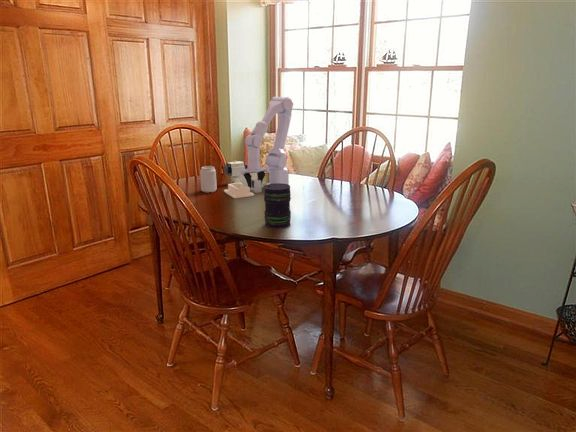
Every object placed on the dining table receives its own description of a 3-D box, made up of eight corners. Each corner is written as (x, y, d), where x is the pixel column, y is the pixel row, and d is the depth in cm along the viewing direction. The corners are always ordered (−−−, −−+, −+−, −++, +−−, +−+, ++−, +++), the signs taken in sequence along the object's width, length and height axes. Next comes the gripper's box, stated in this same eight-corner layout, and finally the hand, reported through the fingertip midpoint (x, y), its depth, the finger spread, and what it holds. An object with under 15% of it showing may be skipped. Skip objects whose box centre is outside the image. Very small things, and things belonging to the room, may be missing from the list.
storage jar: (290, 220, 184) (290, 183, 179) (291, 228, 174) (291, 189, 170) (264, 221, 183) (263, 183, 179) (264, 229, 174) (263, 189, 170)
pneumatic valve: (224, 183, 246) (223, 160, 242) (243, 180, 252) (242, 158, 249) (229, 185, 242) (228, 162, 238) (248, 182, 248) (248, 159, 245)
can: (218, 189, 234) (217, 165, 230) (214, 193, 227) (213, 168, 223) (203, 189, 235) (202, 165, 231) (199, 192, 228) (197, 168, 224)
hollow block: (243, 189, 233) (243, 181, 232) (254, 195, 221) (254, 187, 220) (224, 191, 229) (223, 183, 228) (234, 198, 217) (233, 189, 216)
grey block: (255, 188, 235) (254, 177, 233) (261, 192, 228) (261, 180, 226) (248, 189, 233) (248, 177, 232) (254, 193, 226) (254, 180, 225)
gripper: (242, 162, 220) (243, 190, 224) (271, 159, 226) (271, 187, 230) (237, 160, 226) (238, 187, 230) (265, 157, 232) (265, 184, 236)
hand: (254, 187), depth 230 cm, fingers open, 5 cm apart
